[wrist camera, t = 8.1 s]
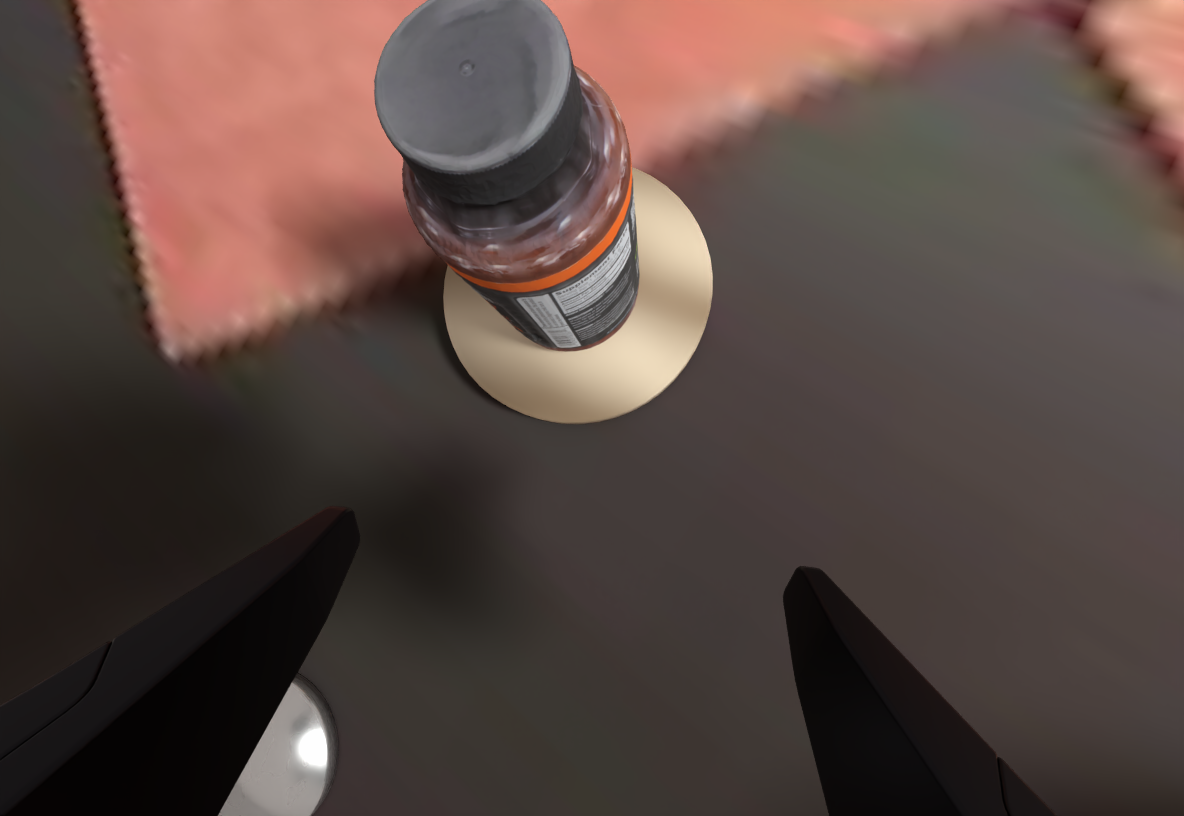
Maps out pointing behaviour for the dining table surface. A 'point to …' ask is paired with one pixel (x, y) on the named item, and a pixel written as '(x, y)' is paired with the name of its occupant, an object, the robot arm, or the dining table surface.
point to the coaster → (621, 363)
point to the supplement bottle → (514, 166)
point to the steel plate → (290, 759)
